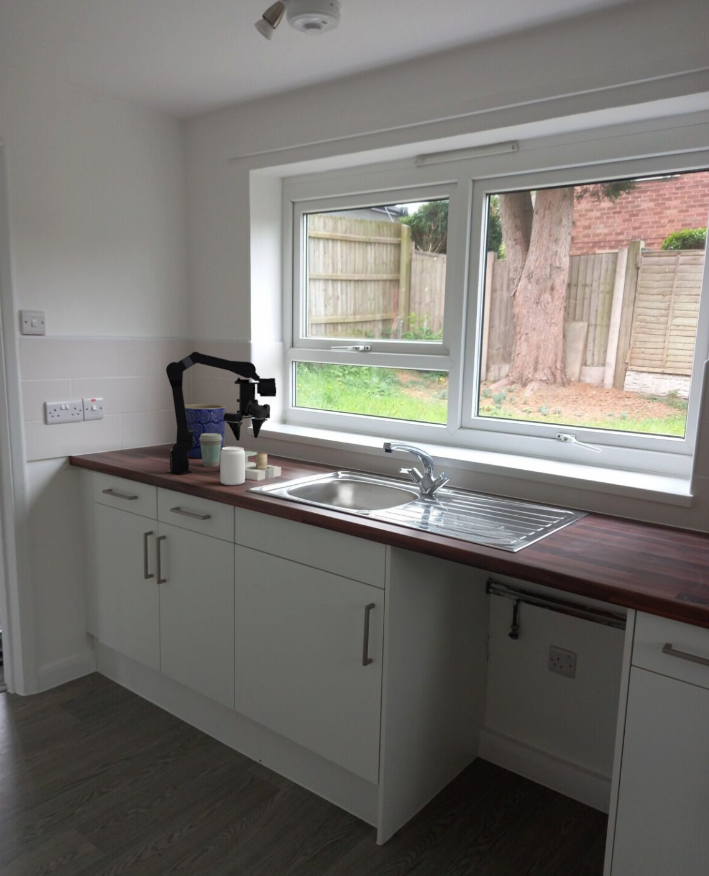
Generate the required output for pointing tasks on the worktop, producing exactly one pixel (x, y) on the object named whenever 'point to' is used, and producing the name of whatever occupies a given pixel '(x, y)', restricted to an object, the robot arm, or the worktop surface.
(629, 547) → the worktop surface
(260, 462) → the peg
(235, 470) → the beverage can
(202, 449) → the coffee cup
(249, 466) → the socket
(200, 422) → the planter
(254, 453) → the mint green folder
